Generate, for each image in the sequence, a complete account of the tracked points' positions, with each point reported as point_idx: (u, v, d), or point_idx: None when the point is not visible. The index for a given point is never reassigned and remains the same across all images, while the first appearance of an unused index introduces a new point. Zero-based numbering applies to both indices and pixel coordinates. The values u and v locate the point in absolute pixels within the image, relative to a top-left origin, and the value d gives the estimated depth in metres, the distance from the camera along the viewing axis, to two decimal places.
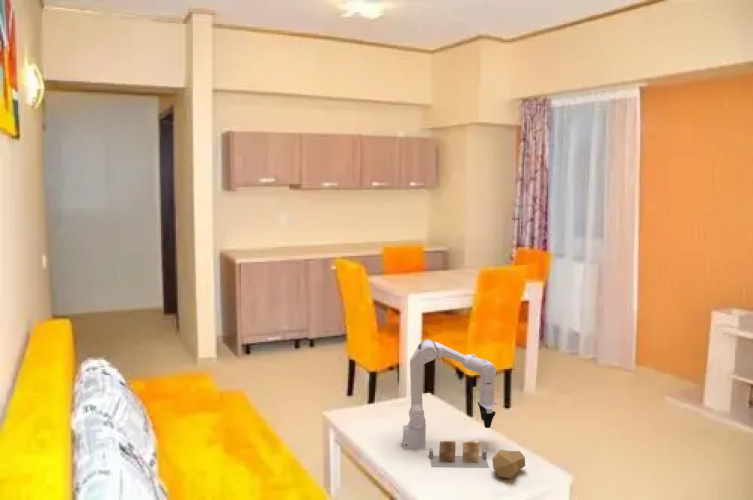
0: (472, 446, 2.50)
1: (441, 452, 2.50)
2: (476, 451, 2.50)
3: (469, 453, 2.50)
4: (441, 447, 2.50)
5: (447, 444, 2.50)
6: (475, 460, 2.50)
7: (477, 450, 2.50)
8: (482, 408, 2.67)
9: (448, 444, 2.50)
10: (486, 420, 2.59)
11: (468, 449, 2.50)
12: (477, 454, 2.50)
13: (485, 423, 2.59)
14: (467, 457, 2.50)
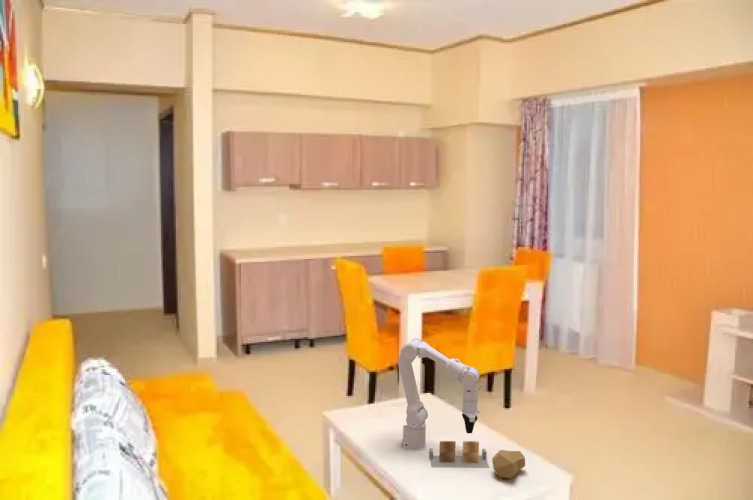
0: (472, 446, 2.50)
1: (441, 452, 2.50)
2: (476, 451, 2.50)
3: (469, 453, 2.50)
4: (441, 447, 2.50)
5: (447, 444, 2.50)
6: (475, 460, 2.50)
7: (477, 450, 2.50)
8: None
9: (448, 444, 2.50)
10: (468, 425, 2.54)
11: (468, 449, 2.50)
12: (477, 454, 2.50)
13: (467, 428, 2.54)
14: (467, 457, 2.50)
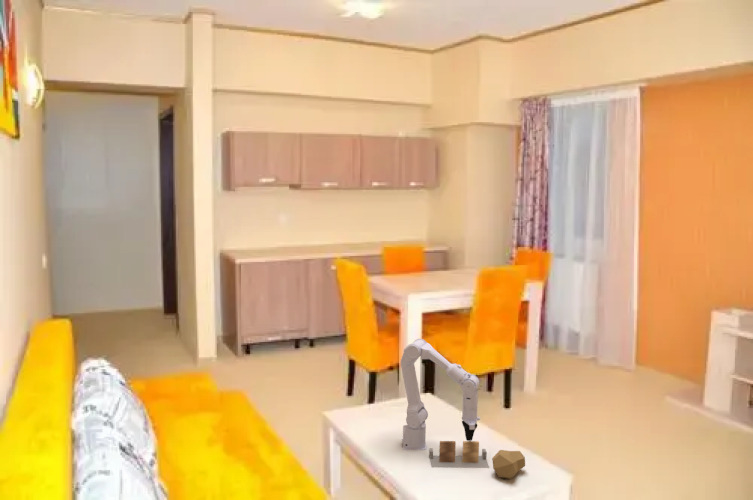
0: (472, 446, 2.50)
1: (441, 452, 2.50)
2: (476, 451, 2.50)
3: (469, 453, 2.50)
4: (441, 447, 2.50)
5: (447, 444, 2.50)
6: (475, 460, 2.50)
7: (477, 450, 2.50)
8: None
9: (448, 444, 2.50)
10: (468, 433, 2.54)
11: (468, 449, 2.50)
12: (477, 454, 2.50)
13: (467, 436, 2.54)
14: (467, 457, 2.50)
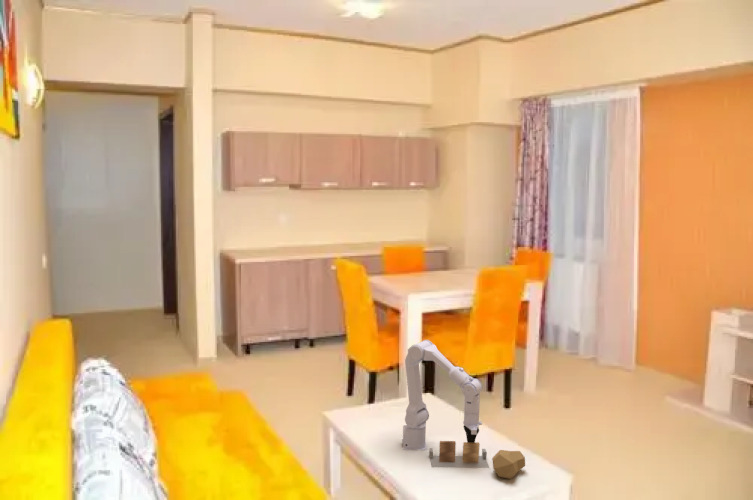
0: (472, 447, 2.49)
1: (441, 452, 2.50)
2: (476, 452, 2.49)
3: (469, 454, 2.50)
4: (441, 447, 2.50)
5: (447, 444, 2.50)
6: (475, 460, 2.50)
7: (477, 451, 2.49)
8: None
9: (448, 444, 2.50)
10: (469, 438, 2.50)
11: (468, 450, 2.49)
12: (477, 455, 2.50)
13: (468, 441, 2.50)
14: (467, 457, 2.50)
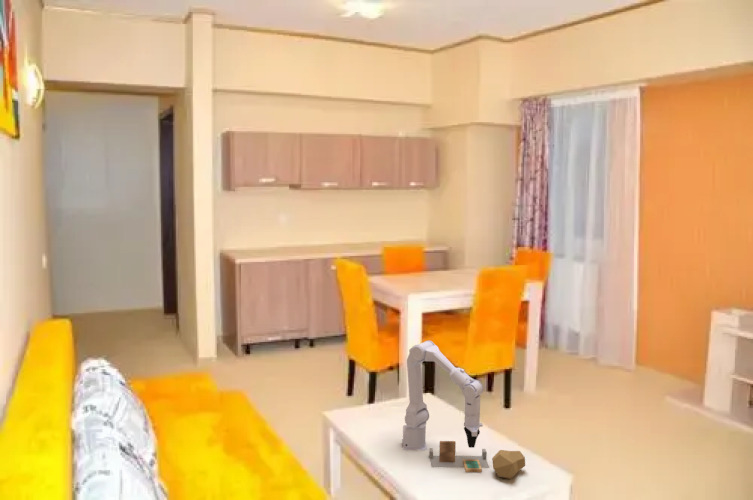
0: None
1: (441, 452, 2.50)
2: None
3: None
4: (441, 447, 2.50)
5: (447, 444, 2.50)
6: None
7: None
8: None
9: (448, 444, 2.50)
10: (470, 439, 2.48)
11: None
12: None
13: (469, 442, 2.48)
14: None
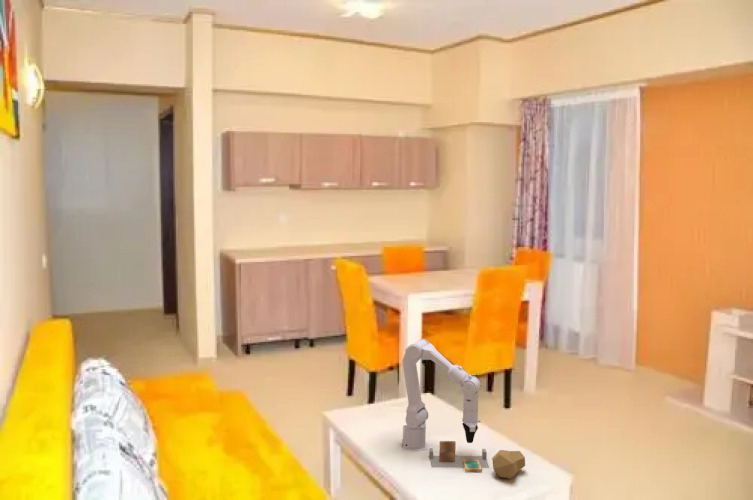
0: None
1: (441, 452, 2.50)
2: None
3: None
4: (441, 447, 2.50)
5: (447, 444, 2.50)
6: None
7: None
8: None
9: (448, 444, 2.50)
10: (468, 435, 2.52)
11: None
12: None
13: (467, 438, 2.52)
14: None
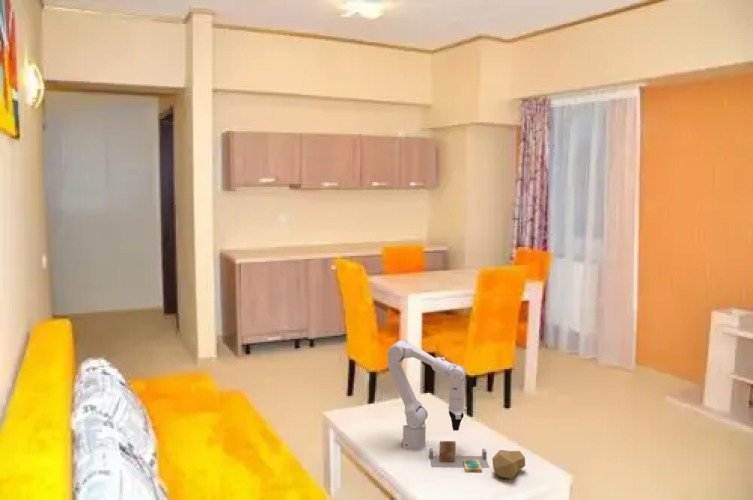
0: None
1: (441, 452, 2.50)
2: None
3: None
4: (441, 447, 2.50)
5: (447, 444, 2.50)
6: None
7: None
8: None
9: (448, 444, 2.50)
10: (454, 423, 2.57)
11: None
12: None
13: (453, 426, 2.57)
14: None
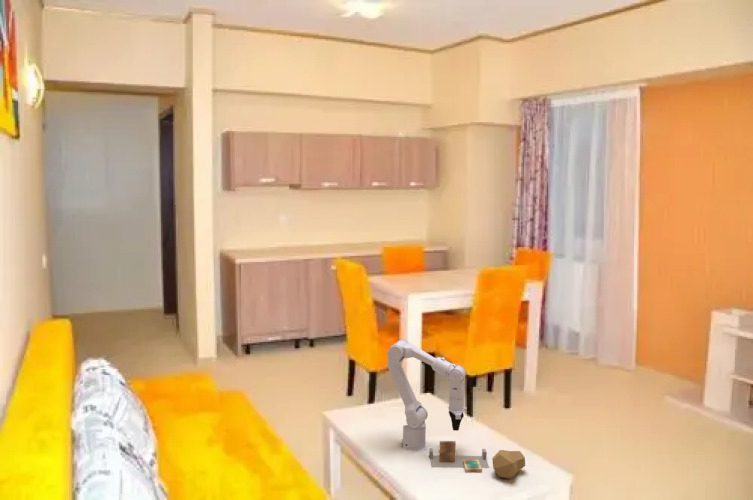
0: None
1: (441, 452, 2.50)
2: None
3: None
4: (441, 447, 2.50)
5: (447, 444, 2.50)
6: None
7: None
8: None
9: (448, 444, 2.50)
10: (454, 423, 2.57)
11: None
12: None
13: (453, 426, 2.57)
14: None
